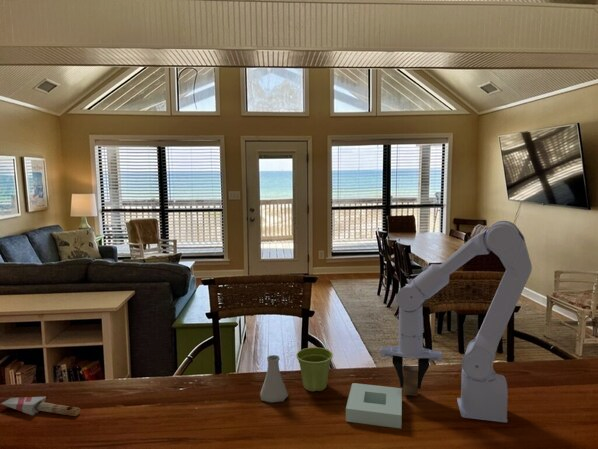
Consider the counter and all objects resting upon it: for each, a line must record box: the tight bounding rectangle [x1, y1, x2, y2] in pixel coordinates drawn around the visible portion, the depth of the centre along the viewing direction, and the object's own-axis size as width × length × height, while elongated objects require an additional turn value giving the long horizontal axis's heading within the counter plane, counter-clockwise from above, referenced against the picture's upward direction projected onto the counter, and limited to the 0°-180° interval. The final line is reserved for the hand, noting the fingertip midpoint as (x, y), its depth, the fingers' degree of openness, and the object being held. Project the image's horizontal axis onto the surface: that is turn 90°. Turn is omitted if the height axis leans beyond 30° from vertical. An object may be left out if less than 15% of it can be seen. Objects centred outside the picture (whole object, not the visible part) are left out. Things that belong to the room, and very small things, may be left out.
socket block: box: [345, 382, 403, 429], centre depth 94 cm, size 12×12×3 cm
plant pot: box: [296, 346, 334, 392], centre depth 106 cm, size 9×9×9 cm
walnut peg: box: [402, 364, 419, 397], centre depth 101 cm, size 3×3×6 cm
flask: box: [259, 354, 289, 404], centre depth 101 cm, size 7×7×10 cm
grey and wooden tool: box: [0, 396, 81, 417], centre depth 96 cm, size 4×3×20 cm
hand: (410, 386), depth 101 cm, fingers closed on walnut peg, 3 cm apart
